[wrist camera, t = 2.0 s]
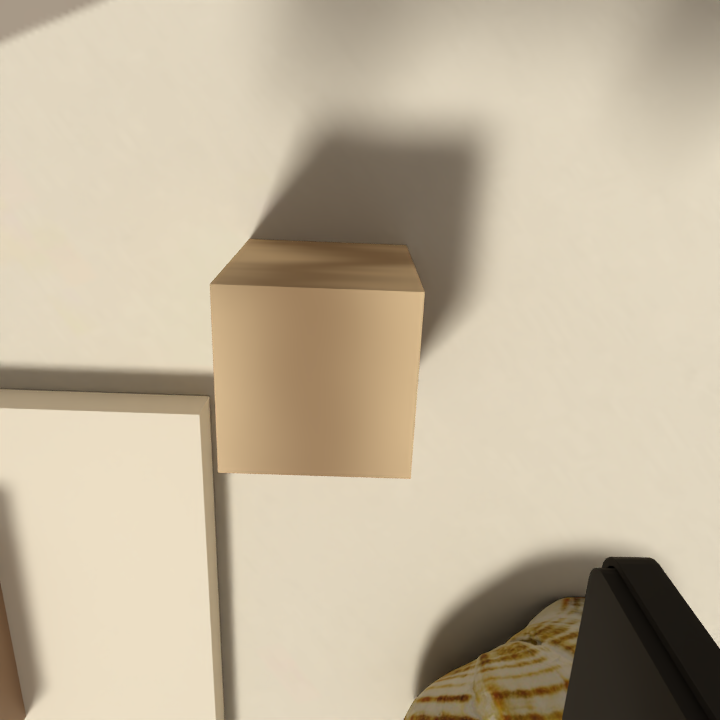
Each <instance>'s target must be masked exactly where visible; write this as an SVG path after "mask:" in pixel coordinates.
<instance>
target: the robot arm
mask: <svg viewBox="0 0 720 720" xmlns="http://www.w3.org/2000/svg"><path fill="white" fill-rule="evenodd" d="M562 720H720V648H719V647H718V646H717V644H716V643H715V642H714V640H713V639H712V637H711V636H710V635H709V633H708V632H707V630H706V629H705V628H704V626H703V625H702V623H701V622H700V621H699V619H698V618H697V617H696V615H695V614H694V612H693V611H692V610H691V608H690V607H689V605H688V604H687V603H686V601H685V600H684V598H683V597H682V596H681V594H680V593H679V592H678V590H677V589H676V587H675V586H674V585H673V583H672V582H671V580H670V579H669V578H668V576H667V575H666V573H665V572H664V571H663V569H662V568H661V566H660V565H659V564H658V563H657V562H656V561H655V560H654V559H652V558H642V557H609V558H606V560H605V561H604V563H603V565H602V568H594V569H593V570H592V571H591V573H590V576H589V581H588V586H587V591H586V596H585V601H584V607H583V612H582V617H581V622H580V627H579V632H578V638H577V643H576V648H575V653H574V658H573V664H572V669H571V674H570V679H569V684H568V689H567V695H566V700H565V705H564V710H563V715H562Z"/></svg>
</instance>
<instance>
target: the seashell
mask: <svg viewBox="0 0 720 720" xmlns="http://www.w3.org/2000/svg"><path fill="white" fill-rule="evenodd" d="M584 601H585V598H584V597H566V598H563V599H559V600H557V601H556V602H554V603H552V604H551V605H549V606H548V607H546V608H544V609H543V610H542V611H541V612H540V613H539V614H538V615H536V616H535V617H534V618H533V619H532V620H531V621H530V623H529V624H528V625H527V627H526V628H525V629H523V630H521V631H520V632H518V633H517V634H515V635H514V636H512V637H511V638H510V639H509V640H508V641H507V642H506V644H503V645H501V646H498V647H497V648H495V649H493V650H492V651H490V652H487V653H484V654H481V655H480V656H479V657H478V658H477V659H476V660H474V661H472V662H470V663H468V664H466V665H464V666H462V667H460V668H457V669H455V670H453V671H451V672H449V673H447V674H446V675H444V676H443V677H441V678H439V679H438V680H436V681H435V682H433V683H432V684H431V685H430V686H428V687H427V688H426V689H425V690H424V691H423V692H422V693H421V694H420V695H419V696H418V697H417V698H416V699H415V700H414V702H413V703H412V705H411V706H410V708H409V710H408V712H407V714H406V716H405V718H404V720H562V715H563V710H564V705H565V700H566V695H567V689H568V684H569V679H570V674H571V669H572V664H573V658H574V653H575V648H576V643H577V638H578V632H579V627H580V622H581V617H582V612H583V607H584Z"/></svg>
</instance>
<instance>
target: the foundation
mask: <svg viewBox="0 0 720 720" xmlns="http://www.w3.org/2000/svg"><path fill="white" fill-rule="evenodd" d="M0 720H224V699H223V677H222V656H221V635H220V614H219V592H218V571H217V550H216V528H215V507H214V486H213V465H212V443H211V422H210V401H209V396H189V395H160V394H131V393H101V392H72V391H42V390H13V389H0Z"/></svg>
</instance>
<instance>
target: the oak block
mask: <svg viewBox="0 0 720 720" xmlns="http://www.w3.org/2000/svg"><path fill="white" fill-rule="evenodd" d="M424 297H425V291H424V289H423V286H422V284H421V281H420V279H419V276H418V274H417V271H416V268H415V266H414V263H413V261H412V258H411V256H410V253H409V251H408V248H407V246H406V245H393V244H367V243H342V242H316V241H290V240H265V239H249V240H248V241H247V242H246V243H245V245H244V246H243V247H242V248H241V249H240V250H239V251H238V253H237V254H236V255H235V256H234V257H233V258H232V259H231V261H230V262H229V263H228V264H227V265H226V266H225V267H224V269H223V270H222V271H221V272H220V273H219V274H218V275H217V277H216V278H215V279H214V280H213V281H212V282H211V283H210V298H211V322H212V345H213V368H214V392H215V415H216V439H217V462H218V473H247V474H279V475H310V476H341V477H373V478H404V479H410V478H411V465H412V452H413V439H414V426H415V413H416V400H417V387H418V374H419V361H420V349H421V336H422V323H423V310H424Z"/></svg>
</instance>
